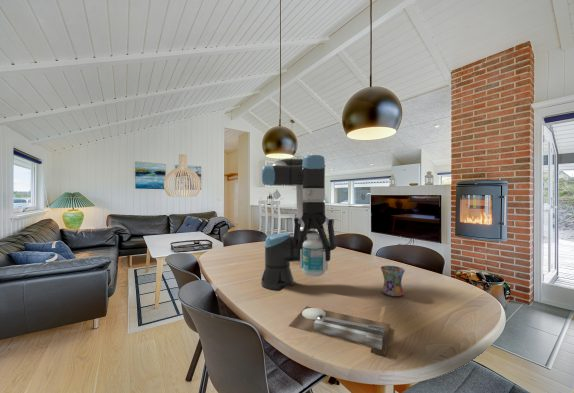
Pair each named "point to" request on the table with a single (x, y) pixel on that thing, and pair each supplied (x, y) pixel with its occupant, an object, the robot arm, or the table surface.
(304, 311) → the rest pad
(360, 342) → the board
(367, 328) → the tong jaw
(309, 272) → the pill bottle
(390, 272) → the mug
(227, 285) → the table surface
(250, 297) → the table surface
